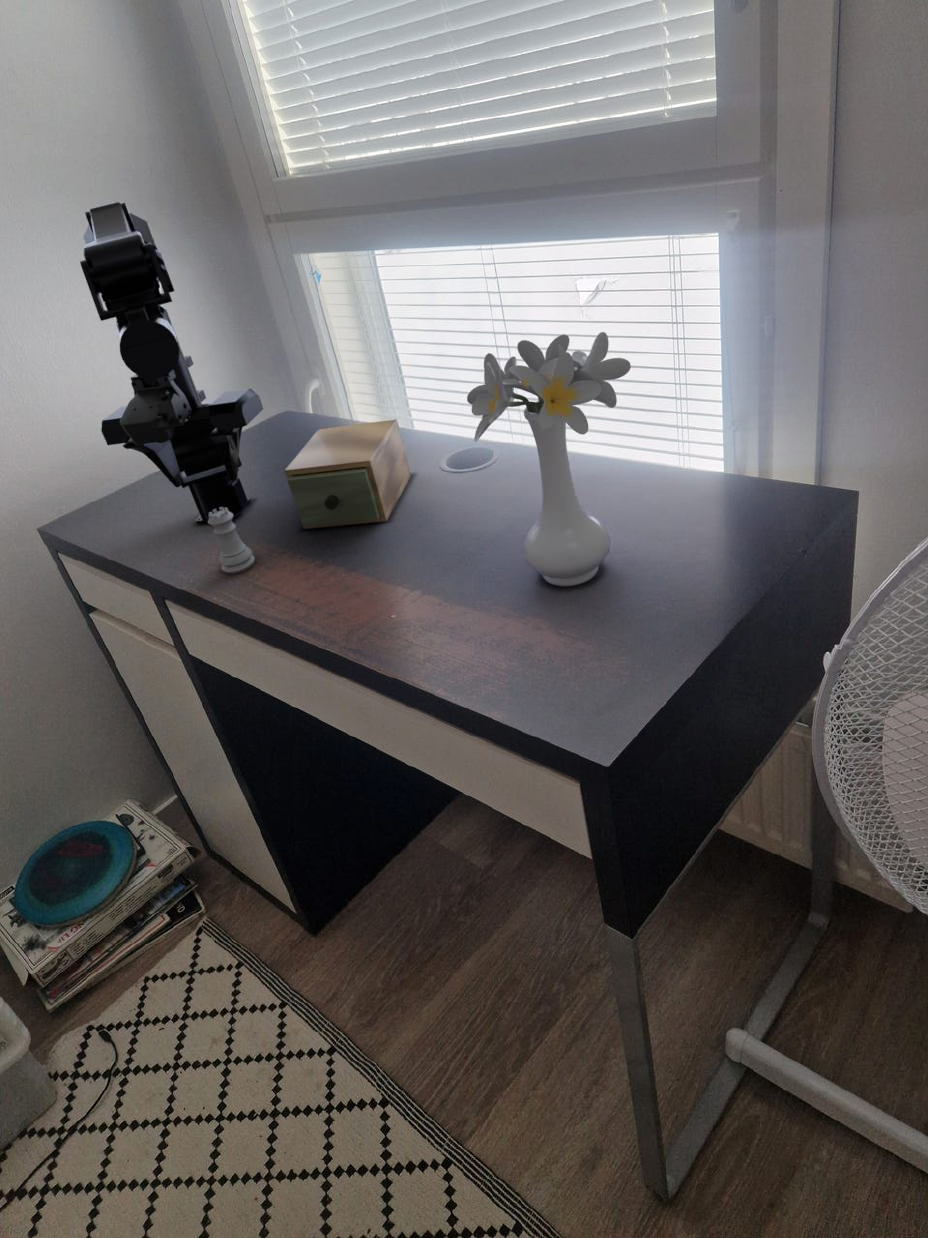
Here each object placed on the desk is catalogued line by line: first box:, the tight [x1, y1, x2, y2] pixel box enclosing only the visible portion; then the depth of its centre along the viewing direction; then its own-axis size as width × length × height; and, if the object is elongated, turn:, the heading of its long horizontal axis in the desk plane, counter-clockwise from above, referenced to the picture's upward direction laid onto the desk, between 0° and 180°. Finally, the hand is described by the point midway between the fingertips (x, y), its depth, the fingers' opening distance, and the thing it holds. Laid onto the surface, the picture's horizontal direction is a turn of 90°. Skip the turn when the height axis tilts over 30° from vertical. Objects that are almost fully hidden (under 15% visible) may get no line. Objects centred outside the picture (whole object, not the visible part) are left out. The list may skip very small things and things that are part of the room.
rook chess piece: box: [207, 507, 256, 575], centre depth 109 cm, size 4×4×8 cm
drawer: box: [287, 467, 381, 528], centre depth 117 cm, size 14×11×7 cm
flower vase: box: [466, 331, 632, 587], centre depth 87 cm, size 13×18×25 cm
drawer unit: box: [284, 419, 412, 530], centre depth 119 cm, size 14×12×9 cm
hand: (206, 482), depth 105 cm, fingers open, 7 cm apart
